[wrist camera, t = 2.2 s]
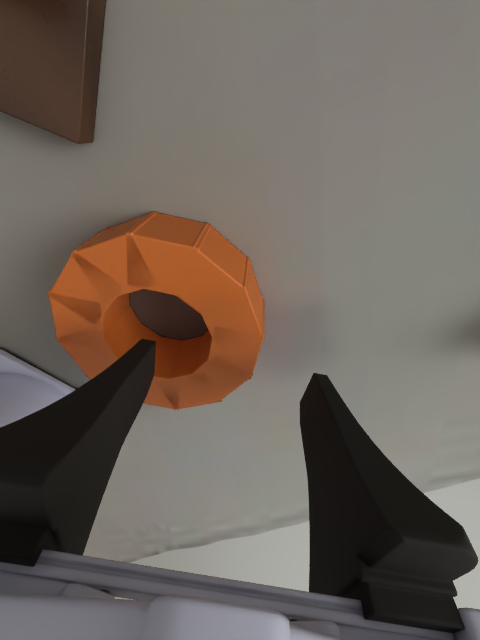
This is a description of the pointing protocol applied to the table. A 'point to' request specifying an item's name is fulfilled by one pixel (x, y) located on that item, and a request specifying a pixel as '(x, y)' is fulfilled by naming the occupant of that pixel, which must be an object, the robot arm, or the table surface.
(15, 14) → the stand
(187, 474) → the table surface
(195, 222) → the ring
